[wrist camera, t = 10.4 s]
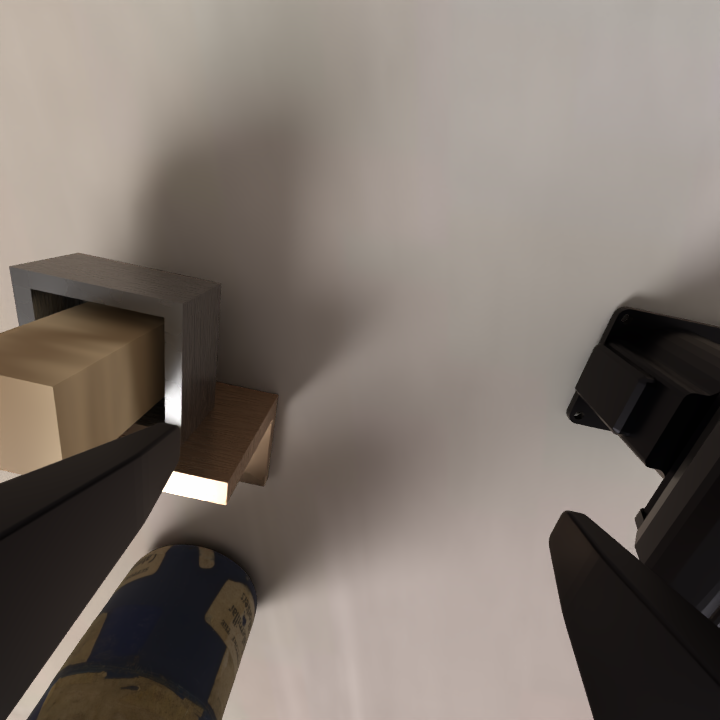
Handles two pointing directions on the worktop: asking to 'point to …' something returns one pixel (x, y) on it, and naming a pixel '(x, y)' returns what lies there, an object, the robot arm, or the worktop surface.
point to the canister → (160, 643)
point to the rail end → (76, 382)
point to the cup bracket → (169, 365)
